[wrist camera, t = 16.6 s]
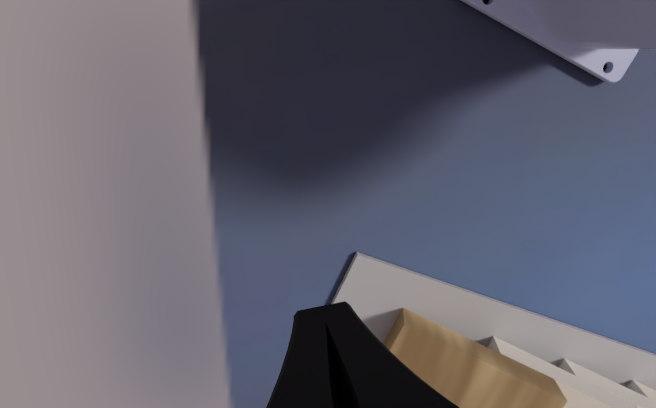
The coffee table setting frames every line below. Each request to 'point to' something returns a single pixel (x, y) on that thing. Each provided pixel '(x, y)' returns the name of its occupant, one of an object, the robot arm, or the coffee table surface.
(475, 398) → the ochre tile
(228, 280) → the coffee table surface
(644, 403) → the domino
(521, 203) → the coffee table surface
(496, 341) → the domino
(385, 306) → the felt strip
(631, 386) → the domino
